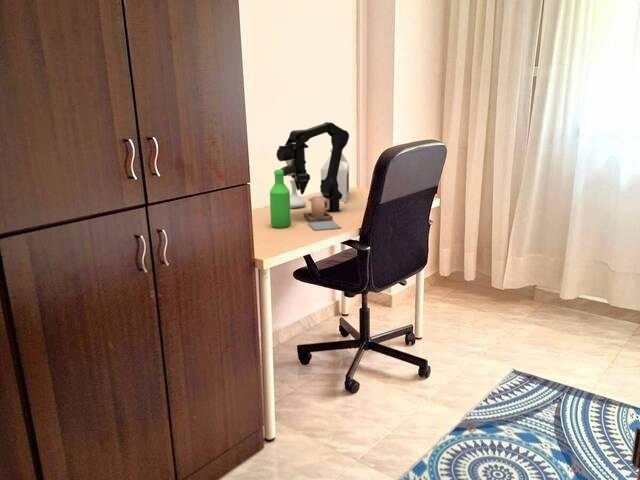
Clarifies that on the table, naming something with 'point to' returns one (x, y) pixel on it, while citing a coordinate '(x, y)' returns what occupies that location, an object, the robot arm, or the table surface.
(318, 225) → the pad
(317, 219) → the holder
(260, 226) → the table surface
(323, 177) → the gable box
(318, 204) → the jug
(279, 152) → the robot arm
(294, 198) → the flower in vase
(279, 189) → the bottle
